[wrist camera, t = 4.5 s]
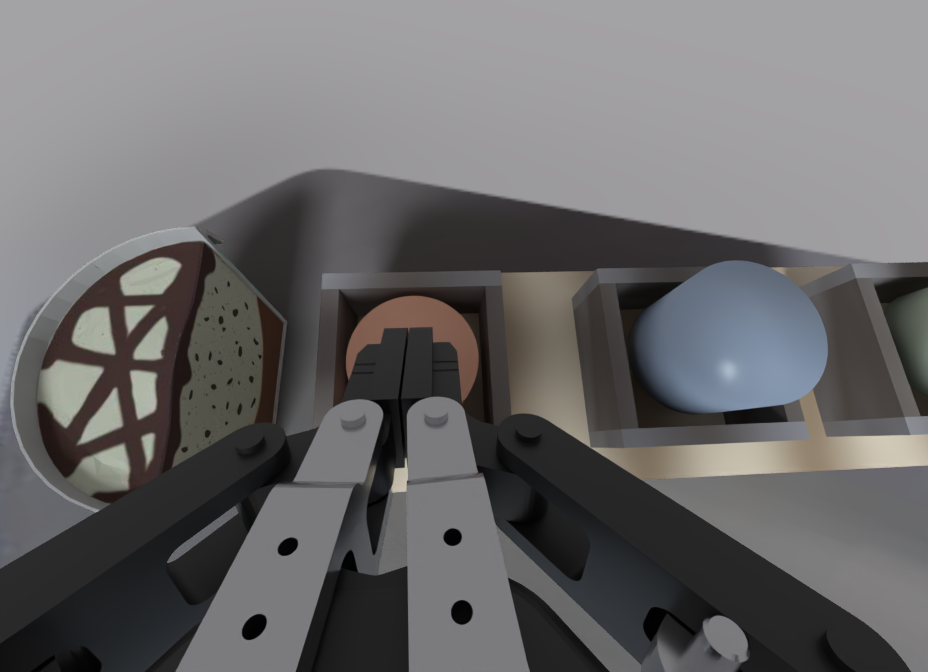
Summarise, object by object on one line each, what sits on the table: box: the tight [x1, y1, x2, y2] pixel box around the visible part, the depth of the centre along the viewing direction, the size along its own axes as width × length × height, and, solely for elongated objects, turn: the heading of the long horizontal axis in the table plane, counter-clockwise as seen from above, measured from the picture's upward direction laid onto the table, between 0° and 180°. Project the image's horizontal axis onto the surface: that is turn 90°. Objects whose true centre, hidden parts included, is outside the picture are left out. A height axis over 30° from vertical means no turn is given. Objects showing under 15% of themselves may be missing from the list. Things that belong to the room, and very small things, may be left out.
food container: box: [10, 227, 287, 512], centre depth 19 cm, size 12×6×10 cm, turn 1°
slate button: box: [628, 260, 828, 415], centre depth 13 cm, size 4×4×3 cm
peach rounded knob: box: [346, 296, 479, 405], centre depth 14 cm, size 4×4×3 cm
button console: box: [313, 262, 928, 492], centre depth 19 cm, size 28×9×12 cm, turn 92°
